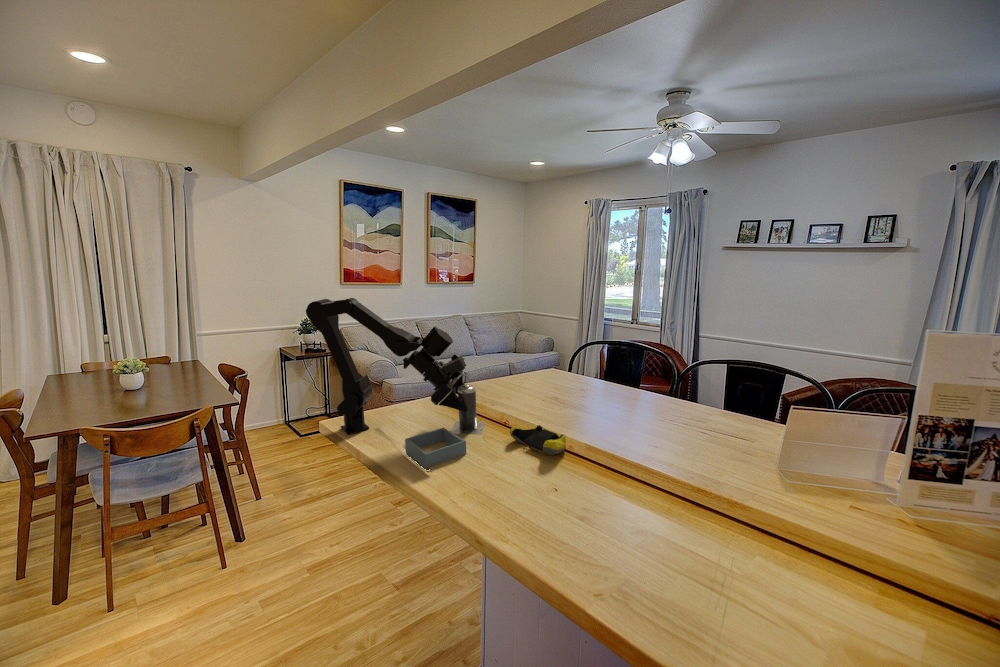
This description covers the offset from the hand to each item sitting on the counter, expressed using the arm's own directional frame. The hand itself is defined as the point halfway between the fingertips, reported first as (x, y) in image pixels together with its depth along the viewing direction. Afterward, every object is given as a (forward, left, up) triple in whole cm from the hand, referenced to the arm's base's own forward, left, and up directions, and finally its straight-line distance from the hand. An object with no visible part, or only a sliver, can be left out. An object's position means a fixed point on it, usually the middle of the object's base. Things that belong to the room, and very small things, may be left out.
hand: (469, 404), depth 125 cm
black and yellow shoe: (+22, +8, -8) cm, 24 cm away
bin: (+8, -15, -8) cm, 19 cm away
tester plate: (0, 0, -8) cm, 8 cm away
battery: (0, 0, -7) cm, 7 cm away
